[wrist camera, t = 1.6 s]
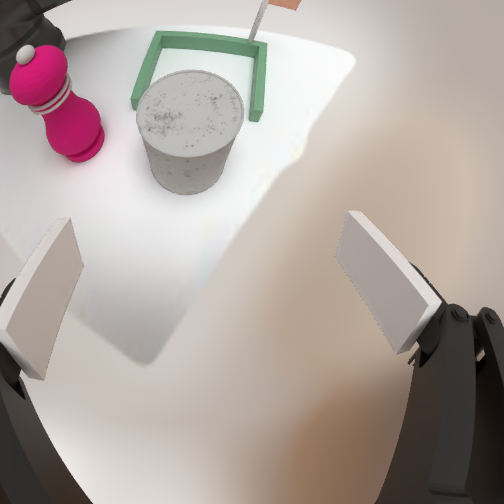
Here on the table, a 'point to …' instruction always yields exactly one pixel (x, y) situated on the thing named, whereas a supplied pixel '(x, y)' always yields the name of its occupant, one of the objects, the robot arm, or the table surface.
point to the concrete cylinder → (189, 128)
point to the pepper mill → (56, 102)
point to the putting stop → (218, 45)
